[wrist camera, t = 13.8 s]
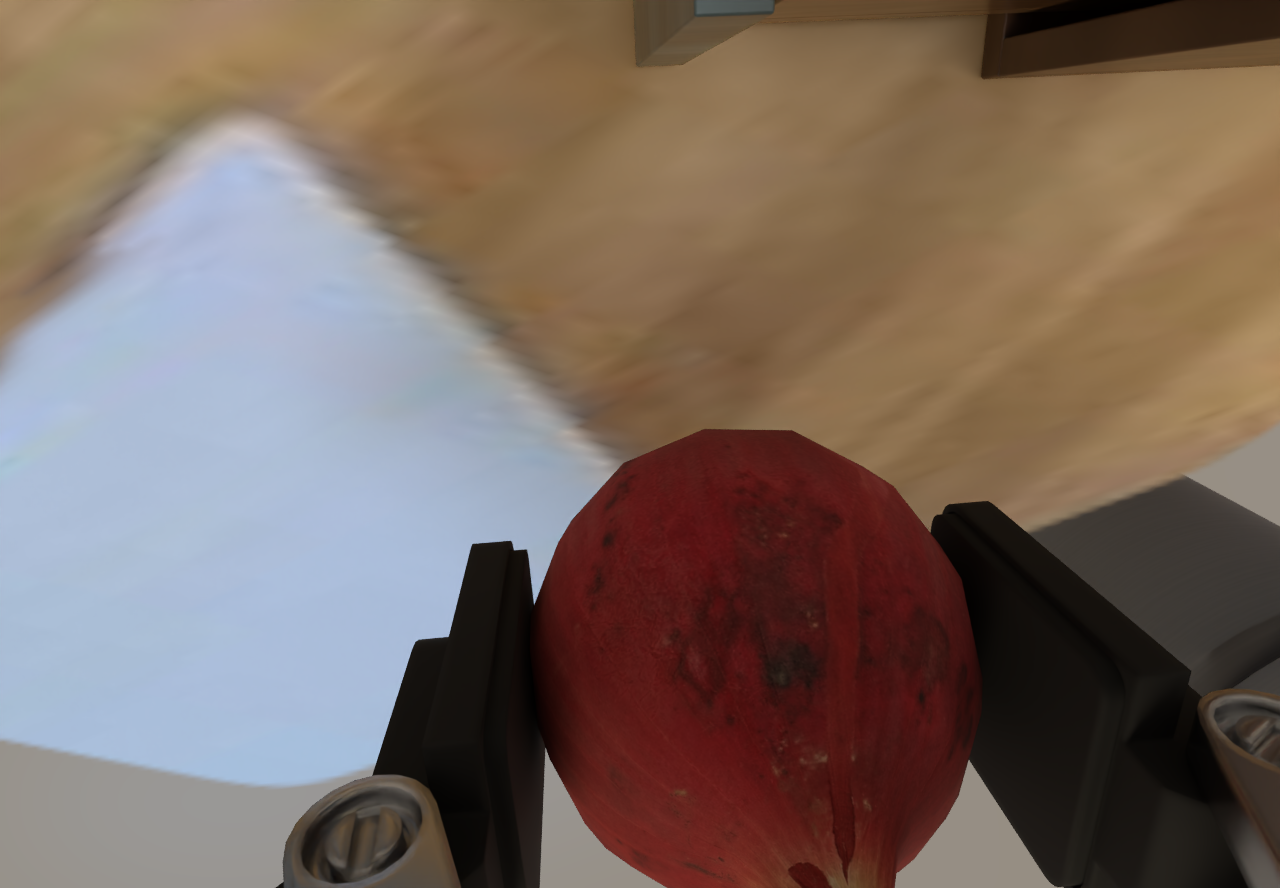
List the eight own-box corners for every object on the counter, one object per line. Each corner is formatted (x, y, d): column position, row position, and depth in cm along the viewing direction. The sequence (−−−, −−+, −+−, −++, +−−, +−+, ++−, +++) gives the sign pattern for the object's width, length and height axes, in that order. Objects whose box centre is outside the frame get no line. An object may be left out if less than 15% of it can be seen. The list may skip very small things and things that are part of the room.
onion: (536, 367, 12) (483, 689, 5) (875, 366, 13) (1285, 656, 6) (545, 660, 15) (517, 1192, 7) (836, 650, 15) (1096, 1137, 8)
